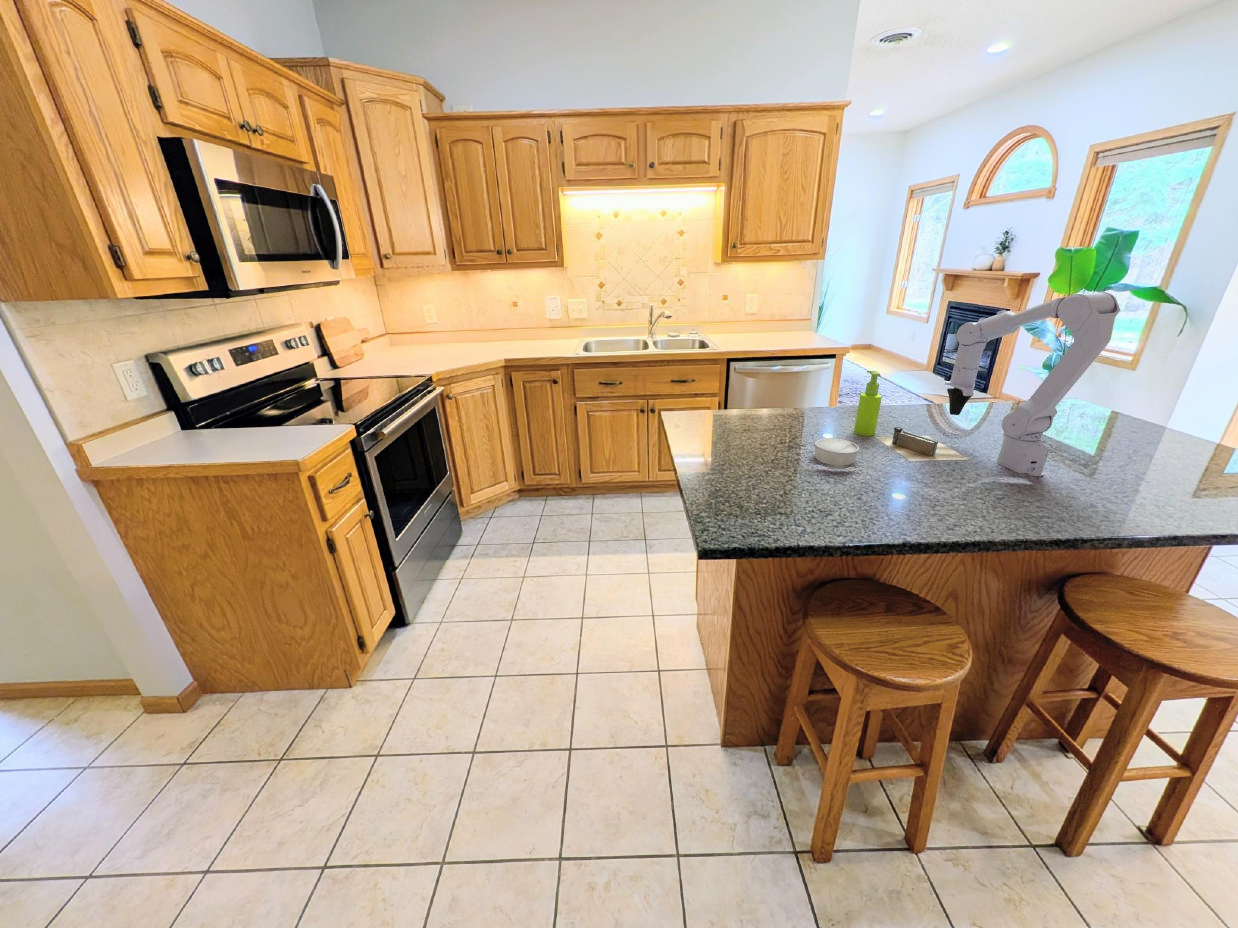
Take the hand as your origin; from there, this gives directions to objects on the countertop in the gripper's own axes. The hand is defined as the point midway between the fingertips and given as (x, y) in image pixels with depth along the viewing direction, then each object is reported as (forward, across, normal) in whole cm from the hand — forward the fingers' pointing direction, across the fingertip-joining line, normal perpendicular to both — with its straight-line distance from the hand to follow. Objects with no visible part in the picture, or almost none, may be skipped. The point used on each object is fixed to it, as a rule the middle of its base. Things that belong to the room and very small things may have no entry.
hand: (954, 414), depth 143 cm
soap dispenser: (+10, -3, -22) cm, 24 cm away
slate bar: (+8, +10, -10) cm, 16 cm away
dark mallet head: (+8, +10, -11) cm, 17 cm away
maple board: (+9, +8, -9) cm, 15 cm away
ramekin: (+10, +23, -32) cm, 41 cm away
